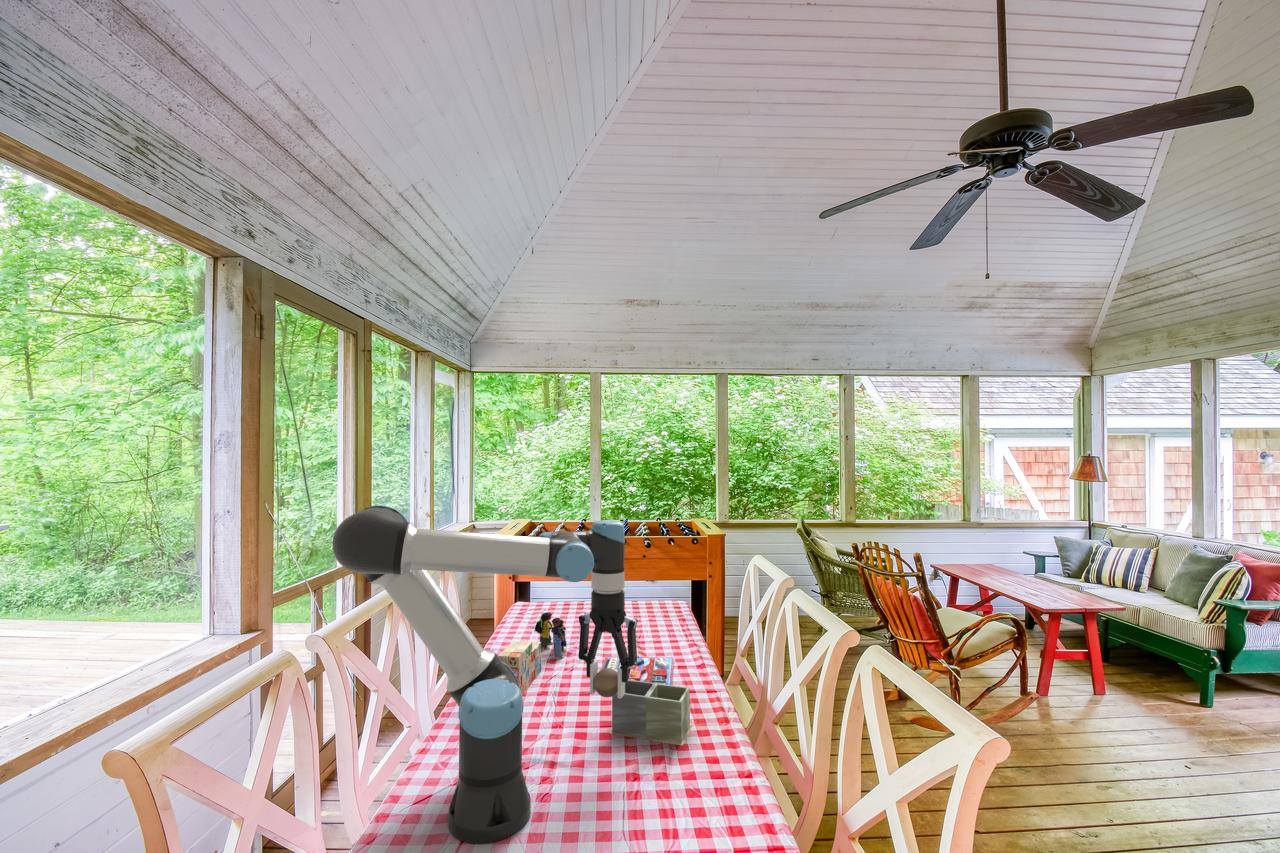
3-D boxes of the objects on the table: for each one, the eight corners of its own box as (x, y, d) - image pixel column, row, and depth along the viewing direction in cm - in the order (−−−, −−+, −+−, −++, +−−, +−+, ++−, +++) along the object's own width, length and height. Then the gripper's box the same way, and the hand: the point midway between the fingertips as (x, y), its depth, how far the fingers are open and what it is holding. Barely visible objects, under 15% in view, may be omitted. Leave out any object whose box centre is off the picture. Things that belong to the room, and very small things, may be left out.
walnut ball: (615, 704, 124) (615, 676, 124) (589, 699, 126) (590, 672, 126) (623, 692, 130) (624, 666, 130) (599, 688, 131) (600, 662, 132)
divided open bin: (682, 749, 132) (682, 703, 132) (608, 737, 137) (609, 693, 138) (692, 729, 141) (692, 686, 142) (622, 719, 147) (622, 677, 147)
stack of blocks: (522, 670, 180) (522, 631, 180) (541, 671, 179) (542, 632, 180) (496, 699, 159) (497, 655, 159) (518, 701, 158) (518, 656, 158)
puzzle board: (605, 660, 190) (605, 652, 191) (673, 662, 189) (673, 654, 189) (590, 699, 160) (590, 689, 160) (671, 702, 158) (671, 692, 158)
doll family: (582, 656, 192) (582, 616, 192) (559, 663, 186) (559, 622, 186) (545, 639, 209) (545, 603, 210) (523, 645, 203) (524, 607, 204)
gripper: (652, 589, 129) (652, 692, 128) (576, 583, 135) (575, 682, 134) (642, 597, 122) (642, 706, 121) (562, 590, 128) (561, 694, 127)
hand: (607, 693), depth 128 cm, fingers closed on walnut ball, 6 cm apart
